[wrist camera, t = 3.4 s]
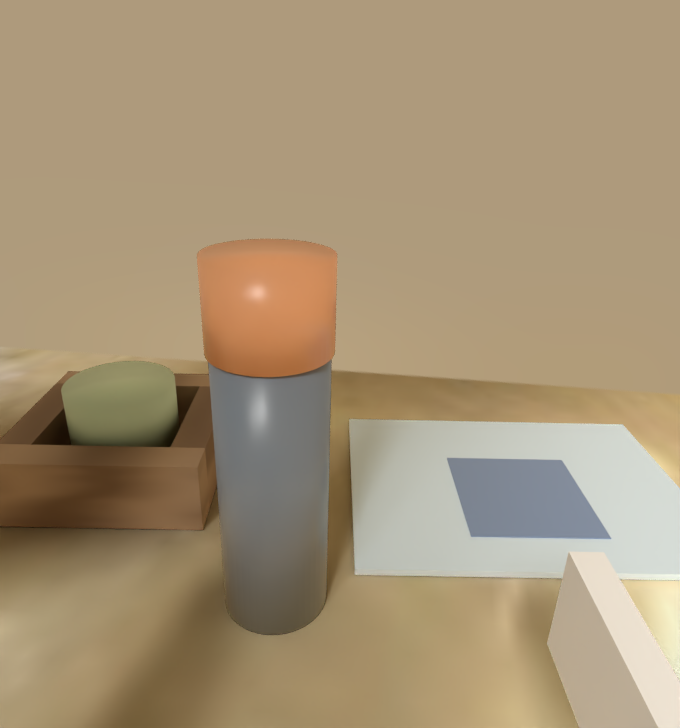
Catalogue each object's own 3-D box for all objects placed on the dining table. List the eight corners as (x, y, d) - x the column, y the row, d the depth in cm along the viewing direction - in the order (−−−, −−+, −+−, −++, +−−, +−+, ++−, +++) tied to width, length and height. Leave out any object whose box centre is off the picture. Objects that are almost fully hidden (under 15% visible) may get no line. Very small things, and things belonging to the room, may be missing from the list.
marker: (212, 636, 20) (181, 269, 15) (232, 555, 24) (211, 237, 19) (328, 638, 20) (337, 273, 15) (329, 556, 24) (337, 240, 19)
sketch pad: (354, 574, 23) (355, 568, 23) (348, 423, 34) (349, 417, 34) (755, 581, 23) (758, 574, 23) (621, 428, 34) (622, 423, 34)
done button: (53, 465, 26) (41, 406, 25) (95, 411, 31) (86, 360, 30) (164, 467, 26) (158, 408, 25) (190, 414, 31) (185, 362, 30)
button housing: (-7, 526, 25) (-24, 463, 24) (77, 422, 33) (68, 371, 32) (202, 529, 25) (197, 467, 24) (235, 425, 34) (233, 374, 32)
